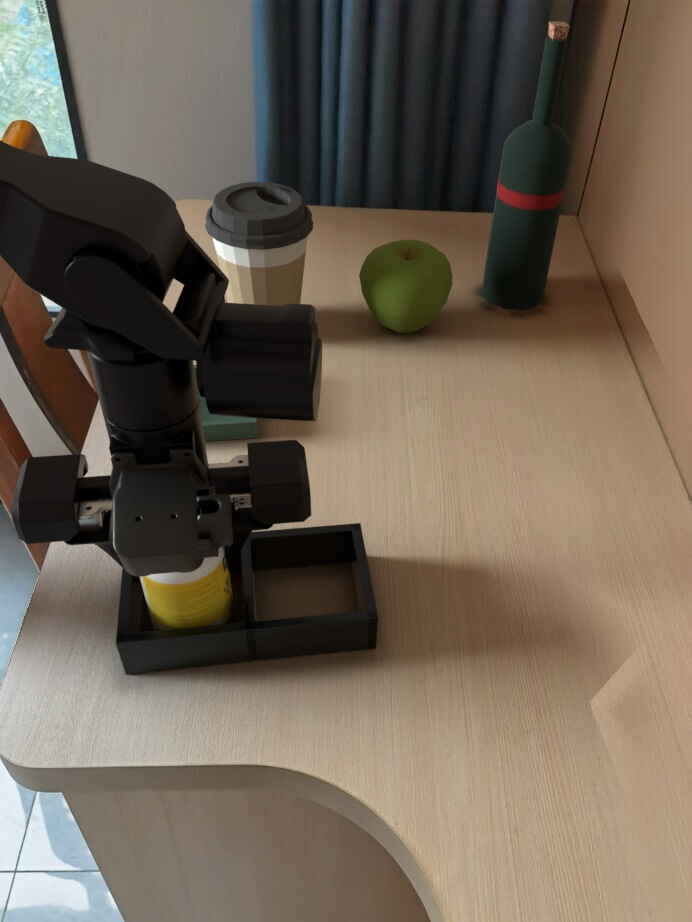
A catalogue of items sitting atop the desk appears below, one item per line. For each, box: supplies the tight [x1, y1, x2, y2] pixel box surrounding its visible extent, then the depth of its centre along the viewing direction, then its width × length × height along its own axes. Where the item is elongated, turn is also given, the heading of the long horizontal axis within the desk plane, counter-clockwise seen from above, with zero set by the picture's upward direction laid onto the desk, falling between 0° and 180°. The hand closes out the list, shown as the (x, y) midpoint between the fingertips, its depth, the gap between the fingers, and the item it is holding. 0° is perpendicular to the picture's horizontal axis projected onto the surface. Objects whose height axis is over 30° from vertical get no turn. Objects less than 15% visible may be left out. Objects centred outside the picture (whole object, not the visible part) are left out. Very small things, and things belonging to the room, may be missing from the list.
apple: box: [358, 239, 453, 334], centre depth 91 cm, size 11×10×10 cm
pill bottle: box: [139, 546, 235, 631], centre depth 59 cm, size 6×6×12 cm
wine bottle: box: [481, 21, 572, 311], centre depth 91 cm, size 8×10×30 cm
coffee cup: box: [204, 181, 314, 305], centre depth 88 cm, size 11×11×15 cm
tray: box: [194, 364, 259, 442], centre depth 81 cm, size 10×10×2 cm
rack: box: [115, 522, 379, 676], centre depth 63 cm, size 19×10×4 cm, turn 99°
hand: (184, 570), depth 59 cm, fingers closed on pill bottle, 6 cm apart
